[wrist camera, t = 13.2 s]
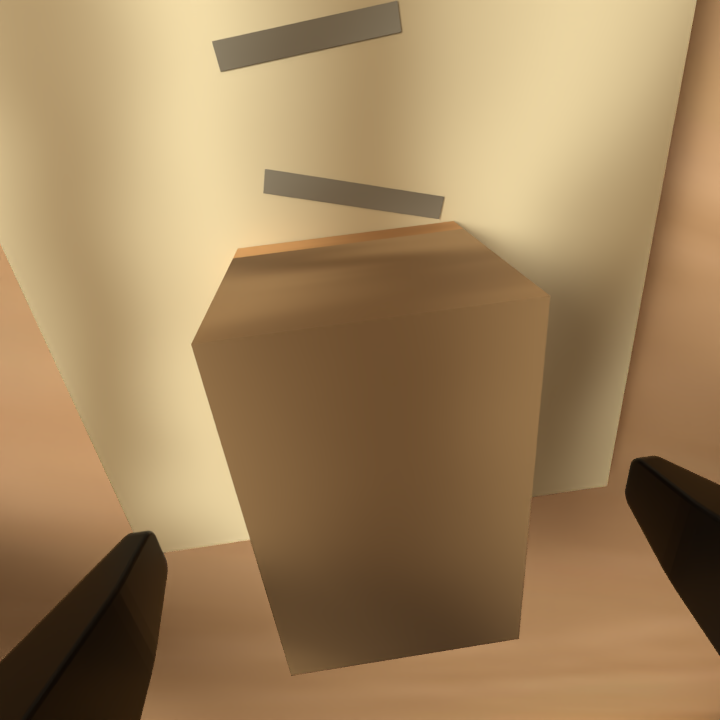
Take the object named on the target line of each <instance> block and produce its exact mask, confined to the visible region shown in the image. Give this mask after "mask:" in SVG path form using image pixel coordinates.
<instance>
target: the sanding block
mask: <svg viewBox="0 0 720 720" xmlns="http://www.w3.org/2000/svg"><path fill="white" fill-rule="evenodd" d="M549 306H550V295H549V294H547V293H546V292H545V291H543V290H542V289H541V288H540V287H538V286H537V285H536V284H534V283H533V282H532V281H530V280H529V279H528V278H527V277H525V276H524V275H523V274H521V273H520V272H519V271H518V270H516V269H515V268H514V267H512V266H511V265H510V264H508V263H507V262H506V261H505V260H503V259H502V258H501V257H499V256H498V255H497V254H496V253H494V252H493V251H492V250H490V249H489V248H488V247H486V246H485V245H484V244H483V243H481V242H480V241H479V240H477V239H476V238H475V237H474V236H472V235H471V234H470V233H468V232H467V231H466V230H465V229H463V228H462V227H461V226H459V225H458V224H457V223H455V222H454V221H450V222H442V223H434V224H426V225H418V226H410V227H402V228H395V229H387V230H379V231H371V232H363V233H355V234H348V235H340V236H332V237H324V238H316V239H308V240H301V241H293V242H285V243H277V244H269V245H261V246H254V247H246V248H238V249H237V251H236V253H235V255H234V257H233V259H232V261H231V263H230V265H229V267H228V270H227V272H226V274H225V276H224V278H223V280H222V282H221V284H220V286H219V288H218V290H217V292H216V294H215V296H214V298H213V300H212V302H211V304H210V306H209V308H208V310H207V313H206V315H205V317H204V319H203V321H202V323H201V325H200V327H199V329H198V331H197V333H196V335H195V337H194V339H193V341H192V343H191V346H192V349H193V353H194V356H195V359H196V363H197V366H198V369H199V372H200V376H201V379H202V382H203V386H204V389H205V392H206V396H207V399H208V402H209V405H210V409H211V412H212V415H213V419H214V422H215V425H216V429H217V432H218V435H219V438H220V442H221V445H222V448H223V452H224V455H225V458H226V462H227V465H228V468H229V471H230V475H231V478H232V481H233V485H234V488H235V491H236V495H237V498H238V501H239V504H240V508H241V511H242V514H243V518H244V521H245V524H246V528H247V531H248V534H249V537H250V541H251V544H252V547H253V551H254V554H255V557H256V561H257V564H258V567H259V570H260V574H261V577H262V580H263V584H264V587H265V590H266V593H267V597H268V600H269V603H270V607H271V610H272V613H273V617H274V620H275V623H276V626H277V630H278V633H279V636H280V640H281V643H282V646H283V650H284V653H285V656H286V659H287V663H288V666H289V669H290V673H291V676H293V675H299V674H305V673H311V672H317V671H323V670H330V669H336V668H342V667H348V666H354V665H360V664H367V663H373V662H379V661H385V660H391V659H397V658H403V657H410V656H416V655H422V654H428V653H434V652H440V651H446V650H453V649H459V648H465V647H471V646H477V645H483V644H489V643H496V642H502V641H508V640H514V639H519V631H520V620H521V609H522V598H523V587H524V576H525V566H526V555H527V544H528V533H529V522H530V511H531V501H532V490H533V479H534V468H535V457H536V446H537V436H538V425H539V414H540V403H541V392H542V381H543V371H544V360H545V349H546V338H547V327H548V316H549Z"/></svg>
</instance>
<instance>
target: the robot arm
mask: <svg viewBox="0 0 720 720" xmlns="http://www.w3.org/2000/svg"><path fill="white" fill-rule="evenodd" d="M625 496H626V500H627V503H628V505H629V507H630V509H631V510H632V512H633V514H634V516H635V518H636V520H637V522H638V524H639V525H640V527H641V529H642V531H643V533H644V535H645V537H646V538H647V540H648V542H649V544H650V546H651V548H652V550H653V552H654V553H655V555H656V557H657V559H658V561H659V563H660V565H661V566H662V568H663V570H664V572H665V573H666V575H667V577H668V579H669V580H670V582H671V583H672V585H673V586H674V588H675V590H676V591H677V593H678V594H679V596H680V597H681V599H682V600H683V602H684V603H685V605H686V606H687V608H688V609H689V611H690V612H691V614H692V615H693V617H694V618H695V620H696V621H697V623H698V624H699V626H700V627H701V629H702V630H703V632H704V633H705V635H706V636H707V637H708V639H709V640H710V642H711V643H712V645H713V646H714V648H715V649H716V651H717V652H718V654H719V655H720V485H719V484H716V483H714V482H712V481H710V480H708V479H706V478H704V477H701V476H699V475H697V474H695V473H693V472H691V471H689V470H686V469H684V468H682V467H680V466H678V465H676V464H674V463H671V462H669V461H667V460H665V459H663V458H661V457H658V456H648V457H641V458H636V459H634V460H633V461H632V462H631V465H630V470H629V475H628V479H627V484H626V489H625ZM166 580H167V561H166V558H165V556H164V553H163V551H162V549H161V546H160V544H159V542H158V539H157V537H156V535H155V533H154V532H153V531H149V530H147V531H140V532H134V533H130V534H128V535H126V536H125V537H124V538H123V539H122V540H121V541H120V542H119V543H118V544H117V545H116V546H115V547H114V548H113V549H112V550H111V551H110V552H109V553H108V554H107V555H106V556H105V557H104V558H103V559H102V560H101V561H100V562H99V563H98V564H97V565H96V566H95V567H94V568H93V569H92V570H91V571H90V572H89V573H88V574H87V575H86V576H85V577H84V578H83V579H82V580H81V581H80V582H79V583H78V584H77V585H76V586H75V587H74V588H73V589H72V590H71V591H70V592H69V593H68V594H67V595H66V596H65V597H64V598H63V599H62V600H61V601H60V602H59V603H58V604H57V605H56V606H55V607H54V608H53V609H52V610H51V611H50V612H49V613H48V614H47V615H46V616H45V617H44V618H43V619H42V620H41V621H40V622H39V623H38V624H37V625H36V626H35V627H34V628H33V629H32V631H31V632H30V633H29V634H28V635H27V636H26V637H25V638H24V639H23V640H22V641H21V642H20V643H19V644H18V645H17V646H16V647H15V648H14V649H13V650H12V651H11V652H10V653H9V654H8V655H7V656H6V657H5V658H4V659H3V660H2V661H1V662H0V720H140V719H141V715H142V711H143V707H144V703H145V699H146V695H147V691H148V687H149V683H150V679H151V675H152V670H153V666H154V661H155V656H156V650H157V644H158V636H159V629H160V622H161V615H162V608H163V601H164V594H165V587H166Z"/></svg>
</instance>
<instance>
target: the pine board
mask: <svg viewBox="0 0 720 720" xmlns="http://www.w3.org/2000/svg"><path fill="white" fill-rule="evenodd" d="M696 2H697V0H0V244H1V246H2V249H3V251H4V253H5V255H6V257H7V259H8V262H9V264H10V266H11V268H12V270H13V272H14V275H15V277H16V279H17V281H18V283H19V285H20V288H21V290H22V292H23V294H24V296H25V298H26V301H27V303H28V305H29V307H30V309H31V311H32V314H33V316H34V318H35V320H36V322H37V324H38V327H39V329H40V331H41V333H42V335H43V337H44V340H45V342H46V344H47V346H48V348H49V351H50V353H51V355H52V357H53V359H54V361H55V364H56V366H57V368H58V370H59V372H60V374H61V377H62V379H63V381H64V383H65V385H66V387H67V390H68V392H69V394H70V396H71V398H72V400H73V403H74V405H75V407H76V409H77V411H78V413H79V416H80V418H81V420H82V422H83V424H84V426H85V429H86V431H87V433H88V435H89V437H90V439H91V442H92V444H93V446H94V448H95V450H96V453H97V455H98V457H99V459H100V461H101V463H102V466H103V468H104V470H105V472H106V474H107V476H108V479H109V481H110V483H111V485H112V487H113V489H114V492H115V494H116V496H117V498H118V500H119V502H120V505H121V507H122V509H123V511H124V513H125V515H126V518H127V520H128V522H129V524H130V526H131V528H132V531H133V533H134V532H140V531H147V530H149V531H153V532H154V533H155V535H156V537H157V539H158V542H159V544H160V546H161V549H162V551H163V553H166V552H173V551H180V550H186V549H193V548H200V547H206V546H213V545H219V544H226V543H233V542H239V541H246V540H250V537H249V534H248V531H247V528H246V524H245V521H244V518H243V514H242V511H241V508H240V504H239V501H238V498H237V495H236V491H235V488H234V485H233V481H232V478H231V475H230V471H229V468H228V465H227V462H226V458H225V455H224V452H223V448H222V445H221V442H220V438H219V435H218V432H217V429H216V425H215V422H214V419H213V415H212V412H211V409H210V405H209V402H208V399H207V396H206V392H205V389H204V386H203V382H202V379H201V376H200V372H199V369H198V366H197V363H196V359H195V356H194V353H193V349H192V346H191V343H192V341H193V339H194V337H195V335H196V333H197V331H198V329H199V327H200V325H201V323H202V321H203V319H204V317H205V315H206V313H207V310H208V308H209V306H210V304H211V302H212V300H213V298H214V296H215V294H216V292H217V290H218V288H219V286H220V284H221V282H222V280H223V278H224V276H225V274H226V272H227V270H228V267H229V265H230V263H231V261H232V259H233V257H234V255H235V253H236V251H237V249H238V248H246V247H254V246H261V245H269V244H277V243H285V242H293V241H301V240H308V239H316V238H324V237H332V236H340V235H348V234H355V233H363V232H371V231H379V230H387V229H395V228H402V227H410V226H418V225H426V224H434V223H442V222H450V221H454V222H455V223H457V224H458V225H459V226H461V227H462V228H463V229H465V230H466V231H467V232H468V233H470V234H471V235H472V236H474V237H475V238H476V239H477V240H479V241H480V242H481V243H483V244H484V245H485V246H486V247H488V248H489V249H490V250H492V251H493V252H494V253H496V254H497V255H498V256H499V257H501V258H502V259H503V260H505V261H506V262H507V263H508V264H510V265H511V266H512V267H514V268H515V269H516V270H518V271H519V272H520V273H521V274H523V275H524V276H525V277H527V278H528V279H529V280H530V281H532V282H533V283H534V284H536V285H537V286H538V287H540V288H541V289H542V290H543V291H545V292H546V293H547V294H549V295H550V306H549V316H548V327H547V338H546V349H545V360H544V371H543V381H542V392H541V403H540V414H539V425H538V436H537V446H536V457H535V468H534V479H533V490H532V497H537V496H544V495H551V494H557V493H564V492H571V491H577V490H584V489H590V488H597V487H604V486H607V483H608V477H609V472H610V467H611V461H612V456H613V450H614V445H615V440H616V434H617V429H618V423H619V418H620V413H621V407H622V402H623V396H624V391H625V386H626V380H627V375H628V369H629V364H630V359H631V353H632V348H633V342H634V337H635V332H636V326H637V321H638V315H639V310H640V305H641V299H642V294H643V288H644V283H645V278H646V272H647V267H648V261H649V256H650V250H651V245H652V240H653V234H654V229H655V223H656V218H657V213H658V207H659V202H660V196H661V191H662V186H663V180H664V175H665V169H666V164H667V159H668V153H669V148H670V142H671V137H672V132H673V126H674V121H675V115H676V110H677V105H678V99H679V94H680V88H681V83H682V78H683V72H684V67H685V61H686V56H687V51H688V45H689V40H690V34H691V29H692V24H693V18H694V13H695V7H696Z"/></svg>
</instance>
